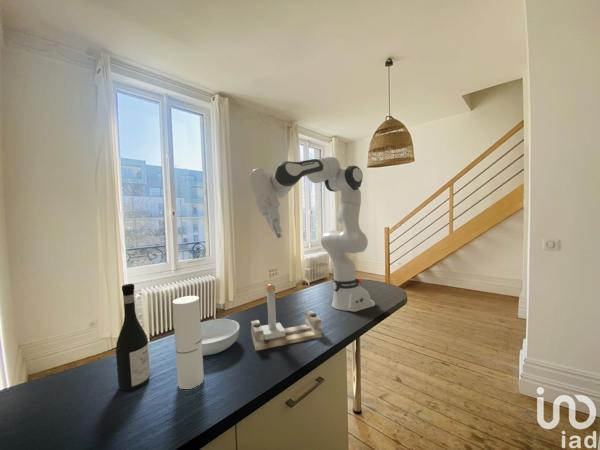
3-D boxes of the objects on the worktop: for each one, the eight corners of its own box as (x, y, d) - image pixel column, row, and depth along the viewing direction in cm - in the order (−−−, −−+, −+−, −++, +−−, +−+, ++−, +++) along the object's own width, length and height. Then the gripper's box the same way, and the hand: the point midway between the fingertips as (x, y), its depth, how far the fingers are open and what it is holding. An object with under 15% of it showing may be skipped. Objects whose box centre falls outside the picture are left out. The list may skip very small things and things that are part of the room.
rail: (312, 326, 111) (311, 309, 111) (321, 336, 102) (321, 318, 102) (251, 338, 103) (250, 320, 103) (255, 350, 93) (254, 330, 93)
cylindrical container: (208, 376, 79) (204, 296, 78) (192, 392, 73) (186, 304, 71) (190, 372, 82) (185, 295, 81) (172, 387, 75) (166, 302, 74)
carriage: (280, 327, 106) (277, 280, 105) (285, 335, 98) (283, 285, 97) (260, 331, 103) (258, 282, 102) (264, 340, 95) (262, 287, 94)
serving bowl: (223, 330, 112) (222, 314, 111) (251, 346, 97) (250, 328, 97) (173, 349, 97) (171, 331, 97) (196, 371, 82) (194, 350, 82)
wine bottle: (156, 375, 81) (149, 280, 80) (137, 392, 73) (130, 288, 72) (132, 374, 82) (125, 281, 81) (111, 392, 74) (104, 288, 73)
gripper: (275, 192, 97) (287, 225, 94) (276, 209, 116) (286, 238, 113) (258, 197, 96) (271, 231, 93) (262, 214, 115) (273, 242, 112)
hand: (279, 235), depth 103 cm, fingers open, 8 cm apart
